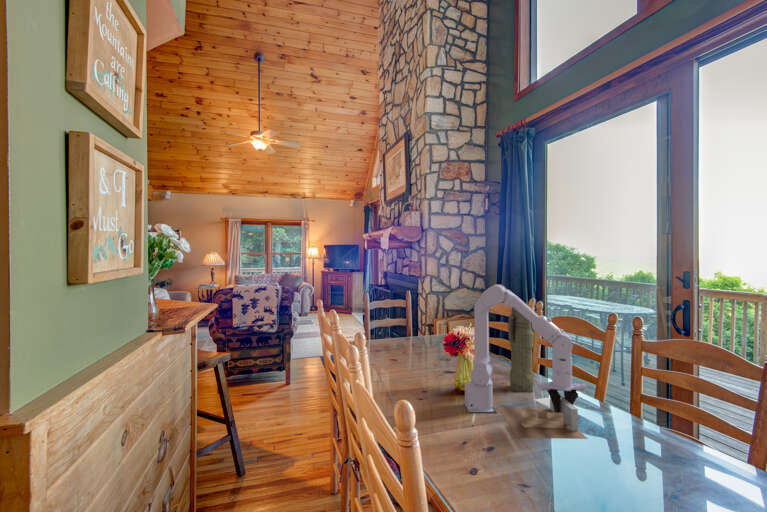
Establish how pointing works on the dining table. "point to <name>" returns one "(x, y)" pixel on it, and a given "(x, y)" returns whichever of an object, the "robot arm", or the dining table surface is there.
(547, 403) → the hard drive
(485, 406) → the robot arm
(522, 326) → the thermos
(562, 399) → the long gray bar
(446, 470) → the dining table surface
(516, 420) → the base
